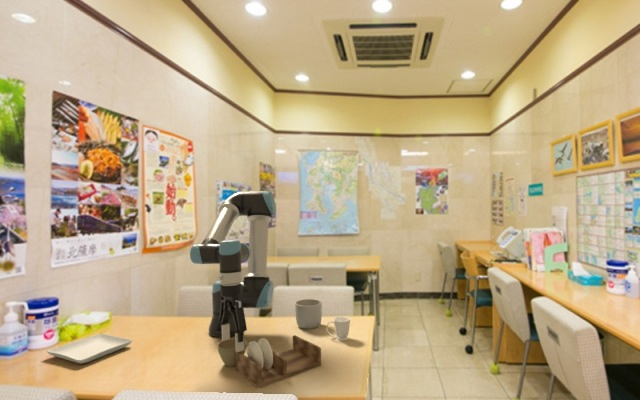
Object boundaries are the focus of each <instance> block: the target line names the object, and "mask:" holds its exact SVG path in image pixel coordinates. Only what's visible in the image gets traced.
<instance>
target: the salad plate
mask: <svg viewBox="0 0 640 400" xmlns="http://www.w3.org/2000/svg"><path fill="white" fill-rule="evenodd" d="M132 342H133V339H130V338H125V337H120V336H115V335H110V334H106V333H98V334H94V335H91V336H88V337H85V338H81V339H77V340H76V341H72V342H68V343H66V344H63V345H60V346H57V347H54V348H51V349H48V350H47V351H46V353H47V354H49V355H50V356H53V357H56V358H60V359H63V360H67V361H71V362H73V363H77V364H82V365H83V364H86V363H89V362H93V361H94V360H97V359H100V358H102V357H105V356H107V355H109V354H112V353H115V352H117V351H120V350H122V349H124V348H126V347H127V346H130V345H131V343H132Z"/></svg>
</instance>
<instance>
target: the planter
mask: <svg viewBox="0 0 640 400" xmlns="http://www.w3.org/2000/svg"><path fill="white" fill-rule="evenodd" d="M322 306H323V302H322V300H320V299H315V298H307V299H306V298H305V299H300V300H297V301H295V302H294V307H295V310H294V311H295V320H296V324H297V326H298V327H299V328H301V329H305V330H311V329H316V328H317V327H319V326H320V325H321V324H322V315H323V314H322V313H323V311H322V310H323V307H322Z"/></svg>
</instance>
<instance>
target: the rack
mask: <svg viewBox="0 0 640 400" xmlns="http://www.w3.org/2000/svg"><path fill="white" fill-rule="evenodd" d="M321 350H322V347H321V346H319V345H316V344H315V343H312V342H310V341H308V340H306V339H304V338H302V337H299V336H297V335H292V349H289V350H286V351H283V352H280V353H277V352H275V351H274V350H273V349H272V352H273V365H272V367H271V369H269V370H264V369H262V367H261V366H260V365H258V364H257V363H255V362H254V361H252V360H251V359H249V358H248V355H245V353H244V354H242V353H241V352H236V366H235V367H236V371H237V372H239V373H240V374H241V375H242V376H244V377H245V378H246V379H247V380H248V381H250V382H251V383H252V384H253V385H255V386H256V387H257V388H262V387H265V386H268V385H270V384H273V383H276V382H279V381H281V380H284V379H287V378H290V377H293V376H295V375H298V374H301V373H304V372H306V371H309V370H311V369H314V368H317V367H320V366H322V351H321Z"/></svg>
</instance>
